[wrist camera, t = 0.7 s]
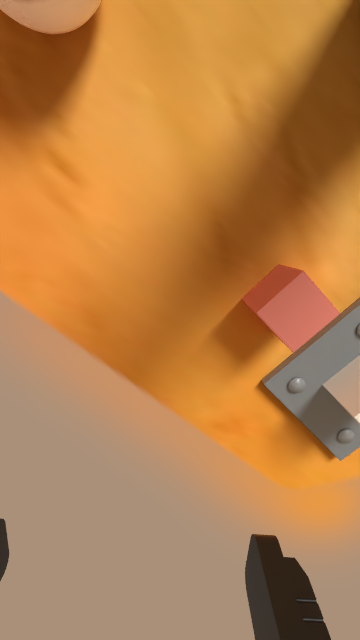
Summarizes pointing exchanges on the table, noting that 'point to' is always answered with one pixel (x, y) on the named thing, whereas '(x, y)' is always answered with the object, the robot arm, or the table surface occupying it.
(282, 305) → the red brick
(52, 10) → the lidded jar
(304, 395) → the base plate
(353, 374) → the cream brick
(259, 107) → the table surface
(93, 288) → the table surface
